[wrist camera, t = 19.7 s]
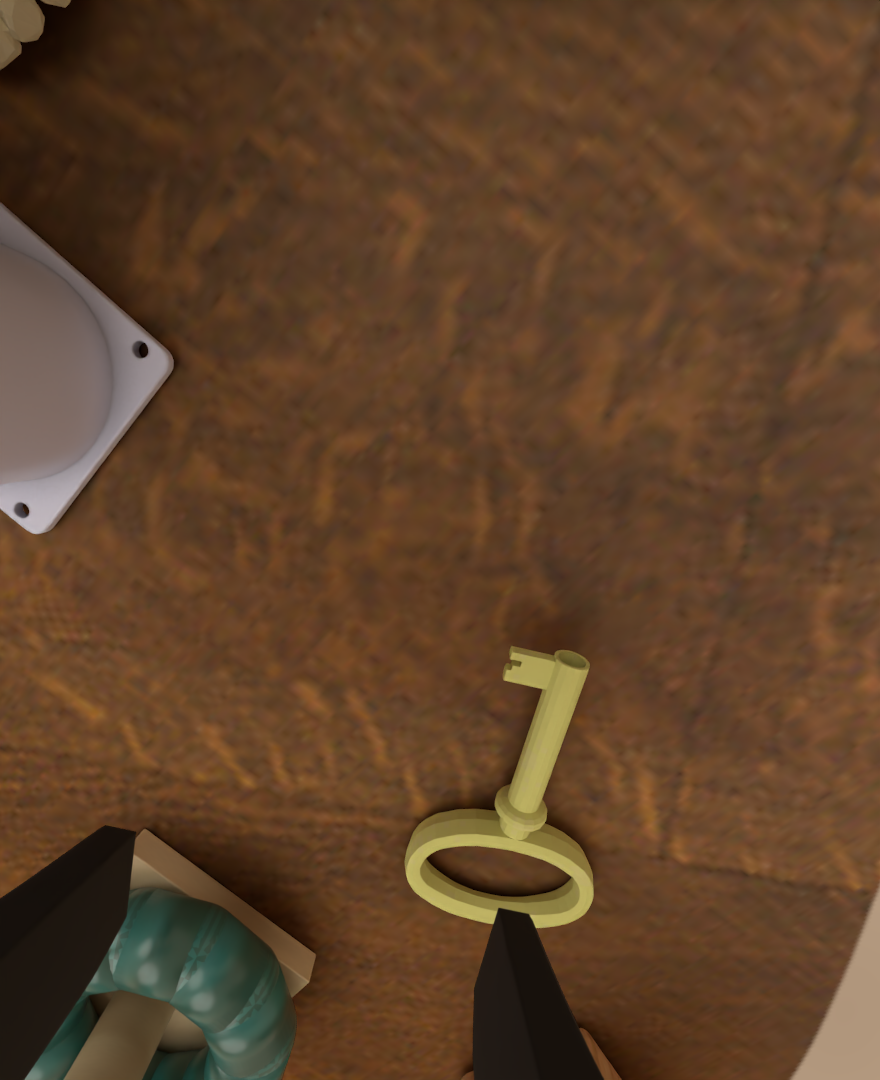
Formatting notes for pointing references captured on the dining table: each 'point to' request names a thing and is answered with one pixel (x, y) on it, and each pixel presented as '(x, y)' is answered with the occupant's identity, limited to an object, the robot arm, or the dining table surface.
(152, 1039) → the post stand
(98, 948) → the robot arm
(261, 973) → the ring
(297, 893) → the dining table surface
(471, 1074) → the decorative item
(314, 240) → the dining table surface
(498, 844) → the key
